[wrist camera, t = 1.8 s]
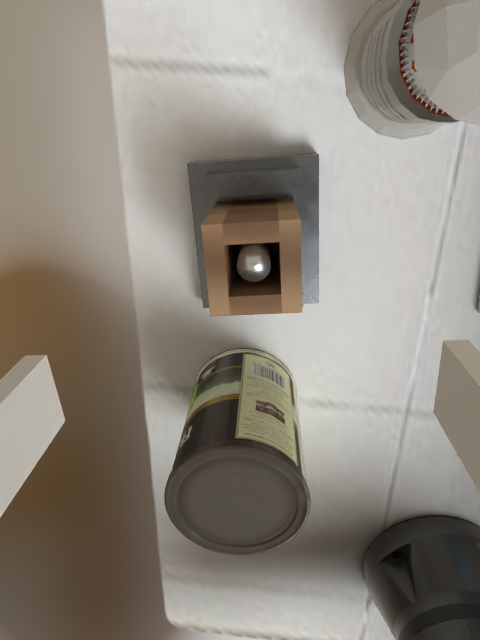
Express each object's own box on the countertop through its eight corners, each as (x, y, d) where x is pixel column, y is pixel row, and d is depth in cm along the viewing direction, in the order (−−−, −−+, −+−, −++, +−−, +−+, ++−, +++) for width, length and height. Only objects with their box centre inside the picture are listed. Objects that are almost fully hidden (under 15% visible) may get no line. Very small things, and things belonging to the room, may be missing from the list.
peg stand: (316, 296, 39) (330, 345, 30) (205, 301, 40) (188, 350, 31) (316, 153, 34) (333, 162, 26) (190, 162, 35) (165, 173, 26)
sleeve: (294, 270, 37) (302, 312, 28) (223, 274, 37) (210, 316, 29) (292, 196, 34) (300, 219, 26) (216, 201, 35) (200, 225, 26)
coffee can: (194, 431, 46) (165, 551, 33) (194, 344, 42) (161, 441, 29) (292, 439, 46) (302, 562, 33) (303, 351, 41) (318, 453, 28)
